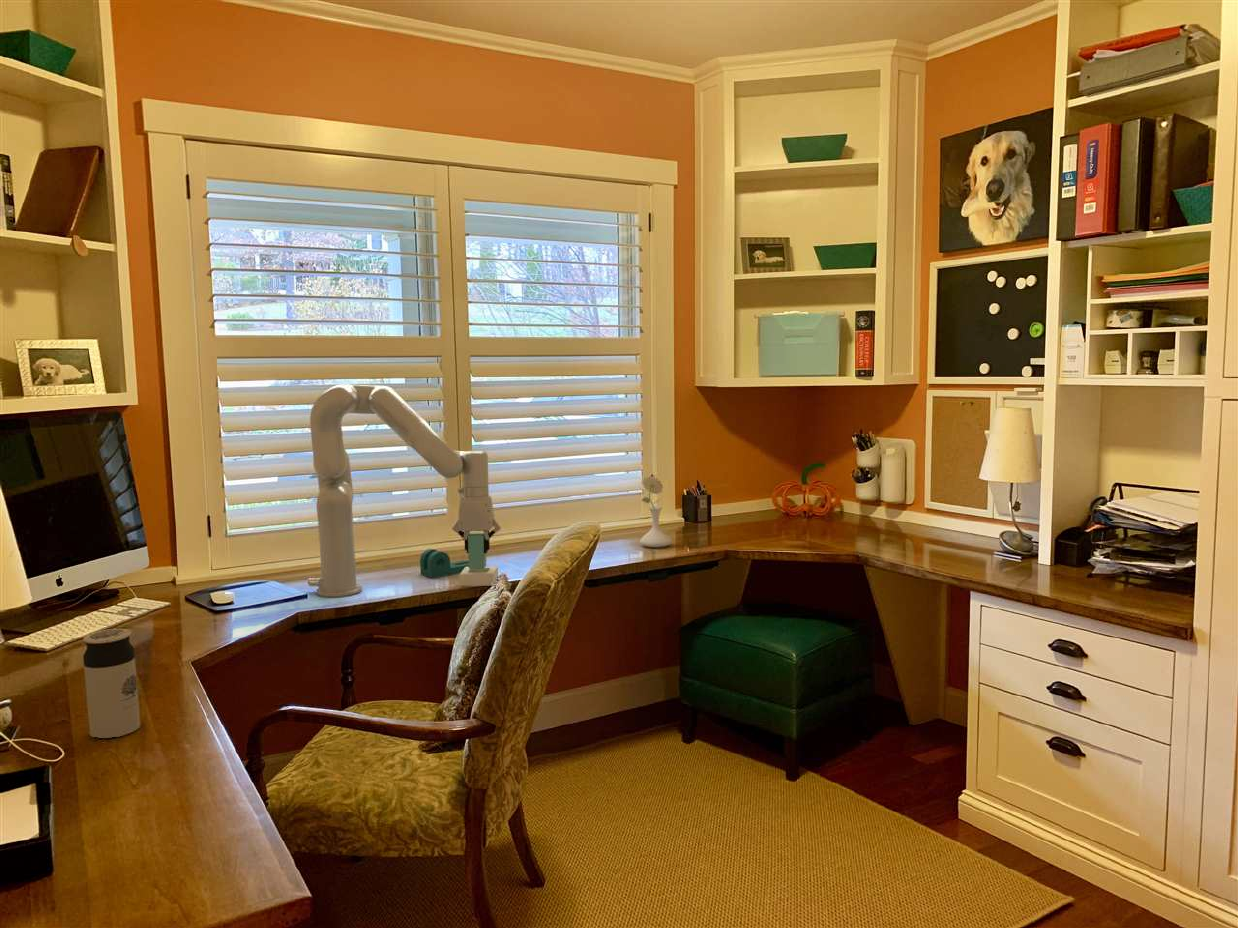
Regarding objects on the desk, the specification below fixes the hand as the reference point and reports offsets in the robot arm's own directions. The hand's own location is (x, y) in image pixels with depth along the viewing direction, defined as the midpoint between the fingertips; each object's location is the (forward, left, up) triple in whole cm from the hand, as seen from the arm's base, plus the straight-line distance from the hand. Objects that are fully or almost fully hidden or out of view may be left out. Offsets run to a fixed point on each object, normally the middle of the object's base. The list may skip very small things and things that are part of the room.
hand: (477, 551), depth 270 cm
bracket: (-11, +14, -10) cm, 20 cm away
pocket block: (0, 0, -9) cm, 9 cm away
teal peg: (0, 0, -5) cm, 5 cm away
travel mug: (-48, -109, -9) cm, 119 cm away
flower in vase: (+54, +49, -9) cm, 74 cm away
